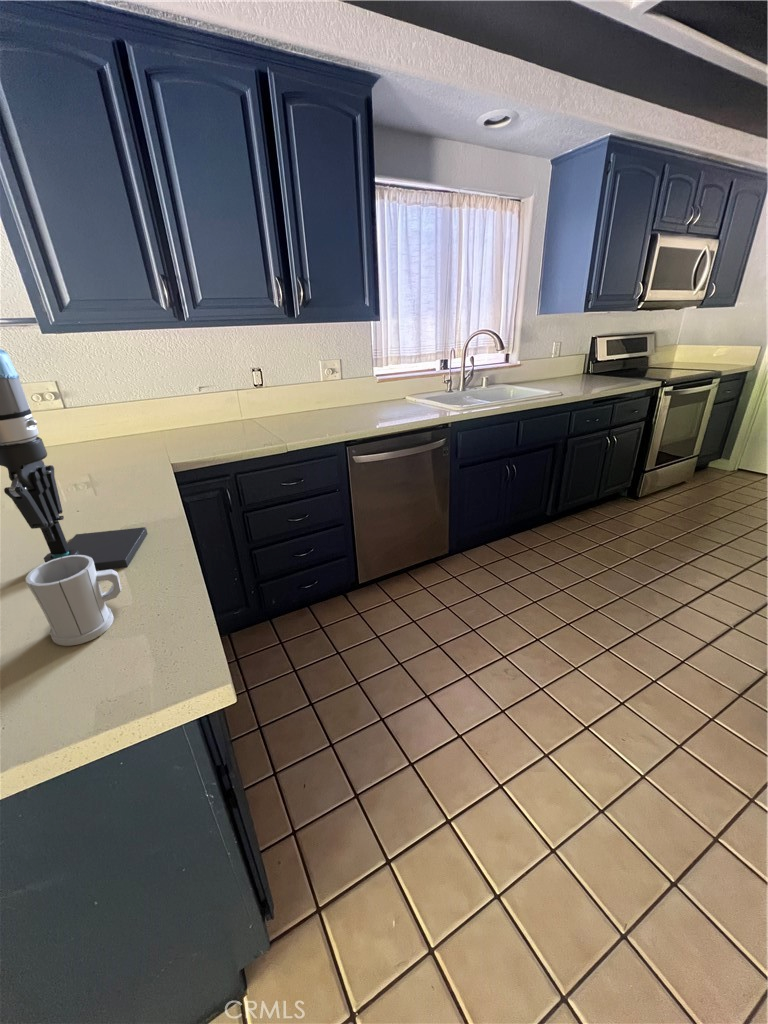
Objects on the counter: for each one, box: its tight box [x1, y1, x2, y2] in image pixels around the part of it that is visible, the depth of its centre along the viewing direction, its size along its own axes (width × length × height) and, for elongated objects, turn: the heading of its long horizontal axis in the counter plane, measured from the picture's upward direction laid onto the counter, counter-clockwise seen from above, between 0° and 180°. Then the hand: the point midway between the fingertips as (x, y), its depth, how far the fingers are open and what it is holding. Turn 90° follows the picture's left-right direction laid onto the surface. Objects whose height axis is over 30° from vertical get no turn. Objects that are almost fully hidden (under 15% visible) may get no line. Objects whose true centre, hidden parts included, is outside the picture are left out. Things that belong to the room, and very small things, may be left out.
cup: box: [25, 555, 122, 647], centre depth 70 cm, size 10×9×12 cm
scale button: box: [52, 551, 70, 559], centre depth 88 cm, size 3×3×2 cm
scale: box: [43, 526, 149, 571], centre depth 93 cm, size 15×15×4 cm
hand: (60, 551), depth 87 cm, fingers closed
